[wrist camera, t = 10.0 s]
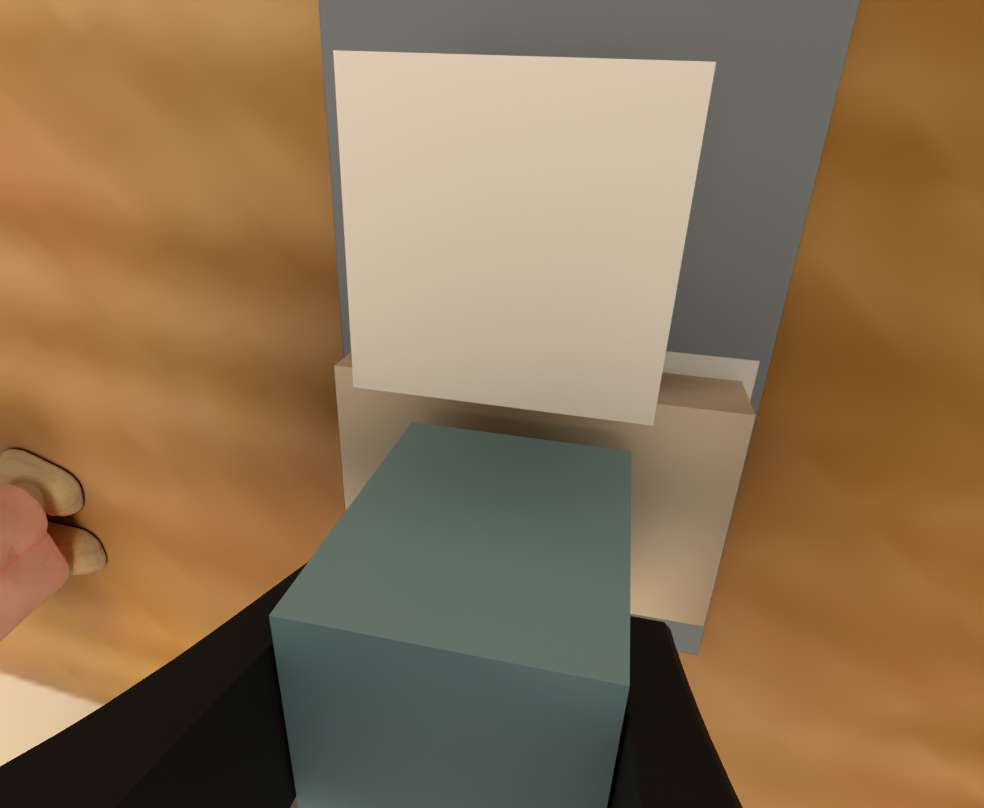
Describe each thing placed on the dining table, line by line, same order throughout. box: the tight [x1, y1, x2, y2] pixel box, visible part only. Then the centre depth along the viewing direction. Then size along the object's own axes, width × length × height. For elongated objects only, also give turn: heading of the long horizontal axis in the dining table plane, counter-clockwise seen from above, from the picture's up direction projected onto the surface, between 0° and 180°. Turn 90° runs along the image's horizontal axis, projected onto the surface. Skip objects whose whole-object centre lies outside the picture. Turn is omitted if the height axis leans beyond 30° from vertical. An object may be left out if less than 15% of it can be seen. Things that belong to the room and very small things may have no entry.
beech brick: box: [334, 352, 756, 626], centre depth 13 cm, size 8×5×2 cm, turn 89°
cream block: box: [333, 50, 716, 426], centre depth 9 cm, size 4×4×5 cm
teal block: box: [269, 422, 631, 808], centre depth 10 cm, size 4×4×5 cm
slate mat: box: [319, 0, 860, 655], centre depth 13 cm, size 9×14×1 cm, turn 179°
